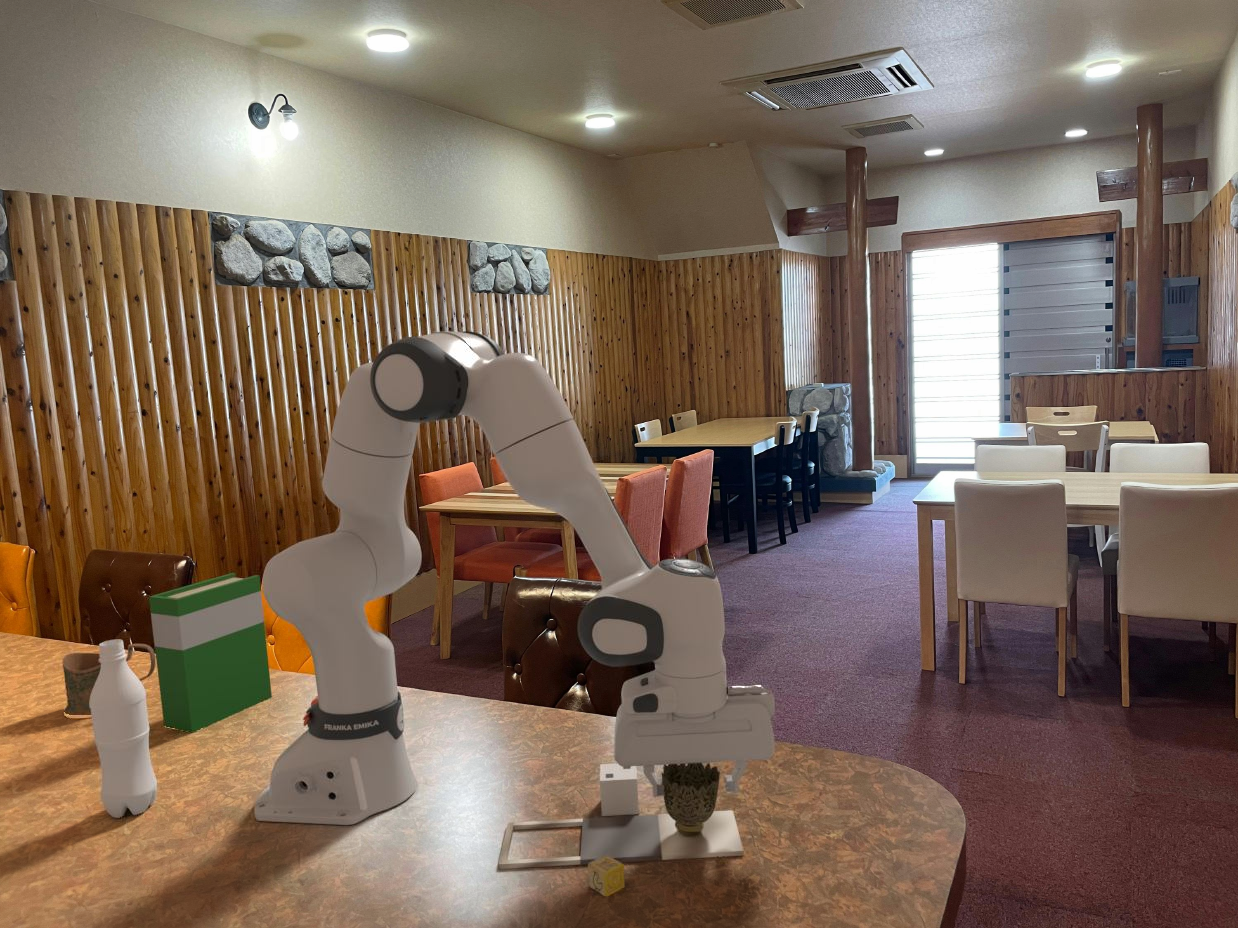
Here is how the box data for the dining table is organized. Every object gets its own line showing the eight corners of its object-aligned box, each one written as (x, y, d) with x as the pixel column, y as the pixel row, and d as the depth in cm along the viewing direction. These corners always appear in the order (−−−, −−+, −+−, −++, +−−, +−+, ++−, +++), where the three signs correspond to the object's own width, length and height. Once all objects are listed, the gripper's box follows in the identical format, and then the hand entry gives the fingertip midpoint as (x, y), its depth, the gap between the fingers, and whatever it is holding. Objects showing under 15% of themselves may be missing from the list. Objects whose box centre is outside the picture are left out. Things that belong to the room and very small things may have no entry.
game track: (498, 868, 112) (498, 864, 111) (508, 826, 121) (507, 822, 121) (743, 855, 112) (743, 850, 111) (732, 814, 121) (732, 810, 121)
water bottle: (170, 800, 135) (151, 636, 132) (130, 824, 128) (108, 652, 125) (133, 794, 137) (113, 633, 134) (91, 818, 130) (69, 649, 127)
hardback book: (244, 692, 179) (232, 573, 176) (271, 697, 175) (259, 575, 172) (164, 727, 163) (148, 596, 160) (192, 733, 160) (176, 599, 157)
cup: (714, 849, 112) (716, 787, 111) (655, 841, 114) (656, 780, 113) (721, 820, 119) (723, 761, 118) (665, 813, 121) (667, 755, 120)
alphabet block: (608, 876, 109) (606, 852, 108) (625, 886, 106) (624, 862, 106) (588, 887, 107) (586, 863, 106) (605, 898, 104) (604, 873, 104)
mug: (143, 716, 169) (135, 653, 168) (49, 720, 169) (41, 658, 168) (174, 693, 181) (167, 634, 179) (86, 697, 181) (78, 638, 180)
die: (601, 815, 123) (599, 780, 122) (602, 798, 128) (600, 763, 127) (639, 813, 123) (637, 778, 122) (637, 796, 128) (636, 761, 127)
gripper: (769, 675, 117) (772, 777, 119) (611, 683, 117) (616, 784, 119) (778, 693, 111) (781, 800, 113) (611, 701, 111) (616, 808, 113)
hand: (695, 792), depth 116 cm, fingers open, 8 cm apart
